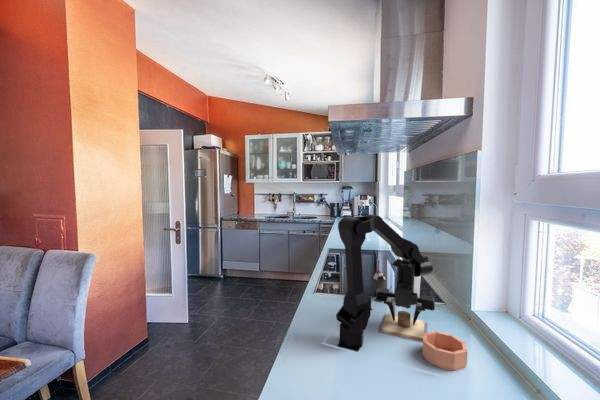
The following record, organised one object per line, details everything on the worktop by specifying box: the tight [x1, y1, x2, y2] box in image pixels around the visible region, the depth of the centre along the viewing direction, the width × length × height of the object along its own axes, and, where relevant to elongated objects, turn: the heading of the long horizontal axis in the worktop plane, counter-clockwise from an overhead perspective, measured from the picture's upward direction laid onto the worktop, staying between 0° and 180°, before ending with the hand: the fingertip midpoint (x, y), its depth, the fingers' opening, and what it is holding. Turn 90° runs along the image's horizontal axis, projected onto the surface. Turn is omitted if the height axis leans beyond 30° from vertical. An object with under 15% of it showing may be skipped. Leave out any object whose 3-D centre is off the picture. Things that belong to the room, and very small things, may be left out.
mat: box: [377, 313, 429, 344], centre depth 97 cm, size 15×15×1 cm
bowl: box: [422, 330, 468, 371], centre depth 81 cm, size 11×11×5 cm
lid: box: [381, 310, 426, 341], centre depth 97 cm, size 13×13×5 cm
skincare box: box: [413, 276, 422, 306], centre depth 121 cm, size 8×6×15 cm
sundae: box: [371, 268, 388, 303], centre depth 120 cm, size 7×7×15 cm
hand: (403, 322), depth 97 cm, fingers open, 6 cm apart
